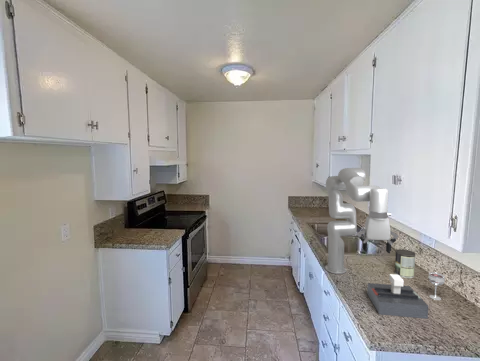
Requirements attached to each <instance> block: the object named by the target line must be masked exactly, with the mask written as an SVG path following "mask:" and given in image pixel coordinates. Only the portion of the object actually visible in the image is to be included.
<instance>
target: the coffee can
mask: <svg viewBox="0 0 480 361" xmlns="http://www.w3.org/2000/svg"><path fill="white" fill-rule="evenodd" d="M394 262H395V263H394V274H395V275H399V276H400V277H401V278H402V279H403V278H405V279H413V278H414V277H415V265H416V264H415V263H416V252H414V251H412V250H408V249H402V248H400V249H399V248H398V249H395V260H394Z"/></svg>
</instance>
